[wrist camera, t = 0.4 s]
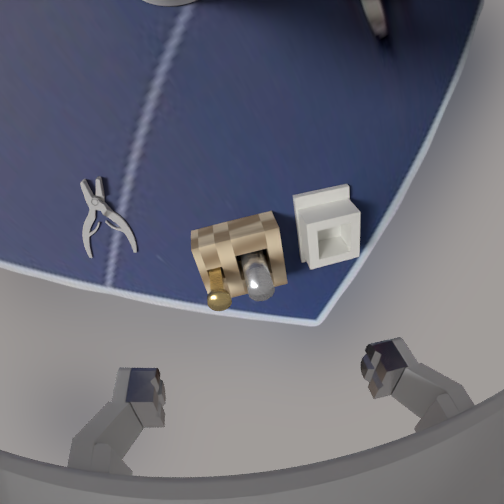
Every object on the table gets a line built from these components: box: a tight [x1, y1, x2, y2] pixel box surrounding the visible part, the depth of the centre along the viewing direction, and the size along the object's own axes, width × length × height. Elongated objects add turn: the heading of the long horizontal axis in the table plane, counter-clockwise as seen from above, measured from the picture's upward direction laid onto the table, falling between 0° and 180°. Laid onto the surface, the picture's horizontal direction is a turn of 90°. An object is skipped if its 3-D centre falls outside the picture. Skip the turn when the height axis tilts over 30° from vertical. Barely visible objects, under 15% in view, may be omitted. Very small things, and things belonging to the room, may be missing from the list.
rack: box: [293, 184, 360, 270], centre depth 54 cm, size 14×10×6 cm
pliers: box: [80, 176, 137, 258], centre depth 48 cm, size 10×2×15 cm
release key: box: [207, 267, 232, 311], centre depth 50 cm, size 4×4×8 cm
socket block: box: [191, 211, 287, 297], centre depth 54 cm, size 12×14×6 cm
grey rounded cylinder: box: [240, 250, 275, 301], centre depth 52 cm, size 4×4×12 cm
